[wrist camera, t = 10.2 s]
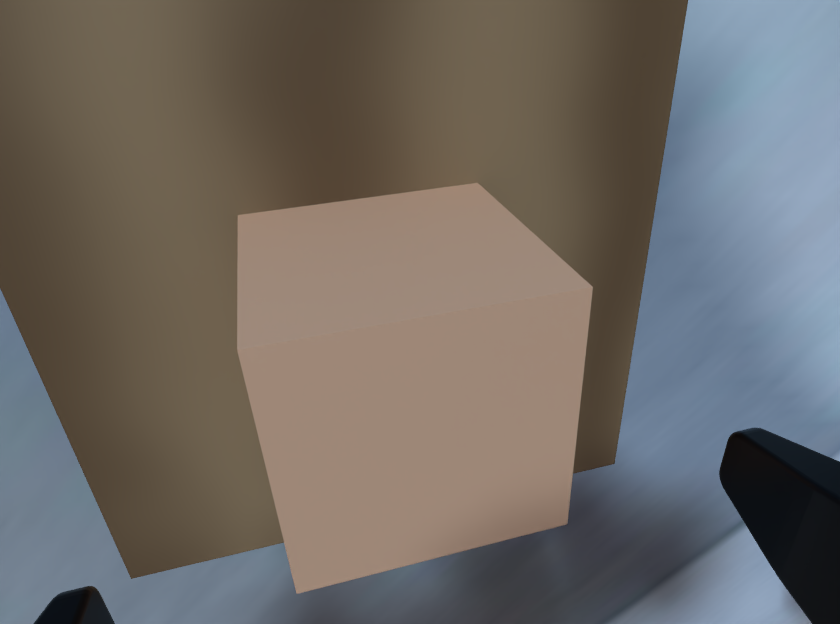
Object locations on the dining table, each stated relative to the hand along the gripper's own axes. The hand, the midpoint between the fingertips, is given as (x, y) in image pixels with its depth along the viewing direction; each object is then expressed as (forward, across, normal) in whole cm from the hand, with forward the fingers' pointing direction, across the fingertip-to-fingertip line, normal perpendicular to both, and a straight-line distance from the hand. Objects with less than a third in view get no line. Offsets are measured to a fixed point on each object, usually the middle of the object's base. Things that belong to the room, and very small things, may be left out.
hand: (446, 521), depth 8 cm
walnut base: (+9, 0, 0) cm, 9 cm away
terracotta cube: (+6, 0, 0) cm, 6 cm away
